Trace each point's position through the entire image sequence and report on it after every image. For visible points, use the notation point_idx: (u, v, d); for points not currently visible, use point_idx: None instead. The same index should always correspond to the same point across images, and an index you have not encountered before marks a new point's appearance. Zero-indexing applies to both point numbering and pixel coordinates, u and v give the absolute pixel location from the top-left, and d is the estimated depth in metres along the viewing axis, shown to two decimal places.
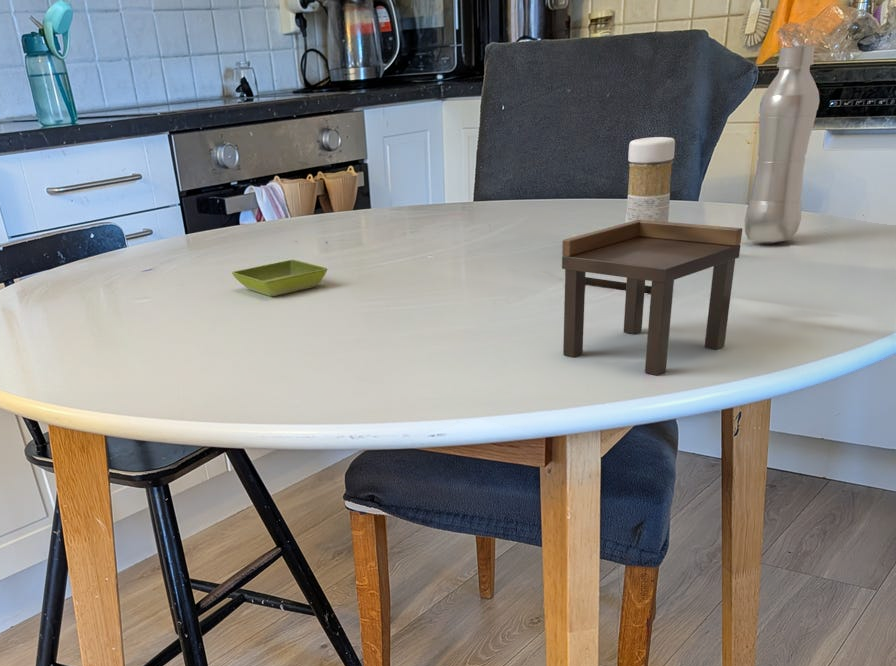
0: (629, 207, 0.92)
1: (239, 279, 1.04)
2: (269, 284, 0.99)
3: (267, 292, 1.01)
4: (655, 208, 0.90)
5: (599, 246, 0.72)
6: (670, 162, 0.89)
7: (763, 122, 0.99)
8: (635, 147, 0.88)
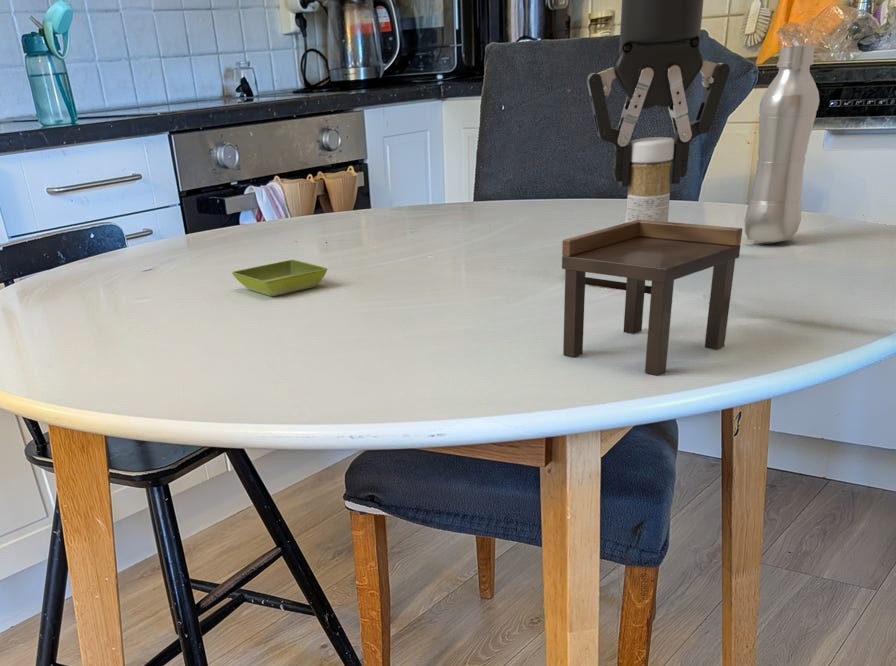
0: (629, 207, 0.92)
1: (239, 279, 1.04)
2: (269, 284, 0.99)
3: (267, 292, 1.01)
4: (655, 208, 0.90)
5: (599, 246, 0.72)
6: (670, 162, 0.89)
7: (763, 122, 0.99)
8: (635, 147, 0.88)
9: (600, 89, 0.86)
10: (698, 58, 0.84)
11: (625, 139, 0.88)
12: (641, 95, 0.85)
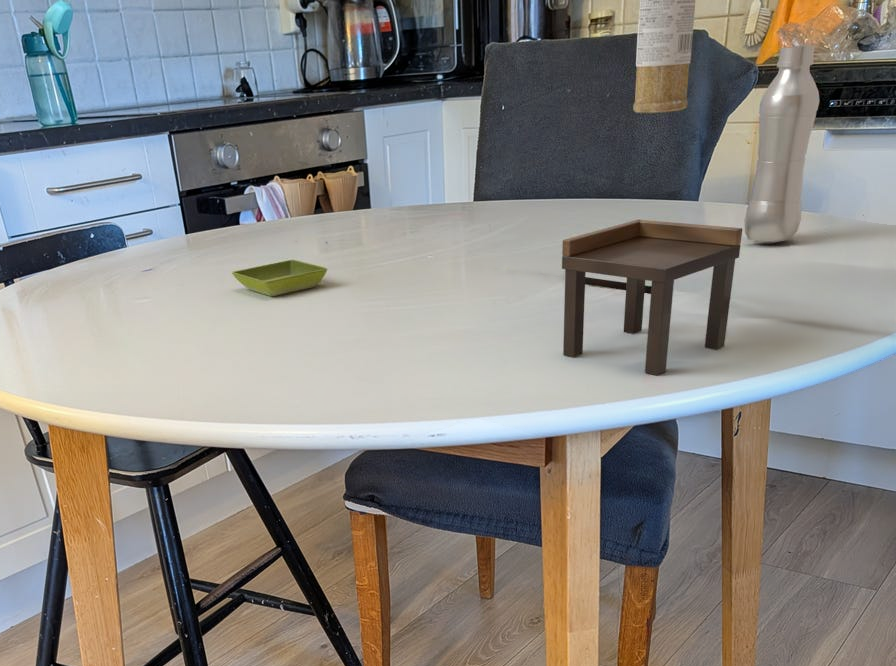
0: (642, 8, 0.70)
1: (239, 279, 1.04)
2: (269, 284, 0.99)
3: (267, 292, 1.01)
4: (677, 5, 0.69)
5: (599, 246, 0.72)
6: None
7: (763, 122, 0.99)
8: None
9: None
10: None
11: None
12: None
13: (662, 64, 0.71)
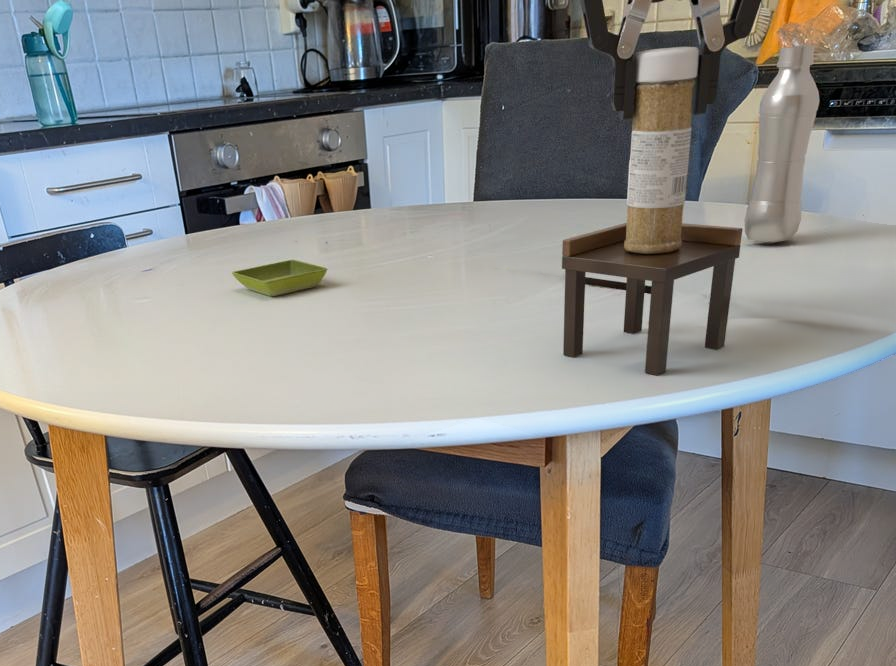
0: (633, 149, 0.65)
1: (239, 279, 1.04)
2: (269, 284, 0.99)
3: (267, 292, 1.01)
4: (671, 149, 0.64)
5: (599, 246, 0.72)
6: (692, 82, 0.62)
7: (763, 122, 0.99)
8: (643, 59, 0.62)
9: None
10: None
11: (628, 48, 0.61)
12: None
13: (655, 207, 0.66)
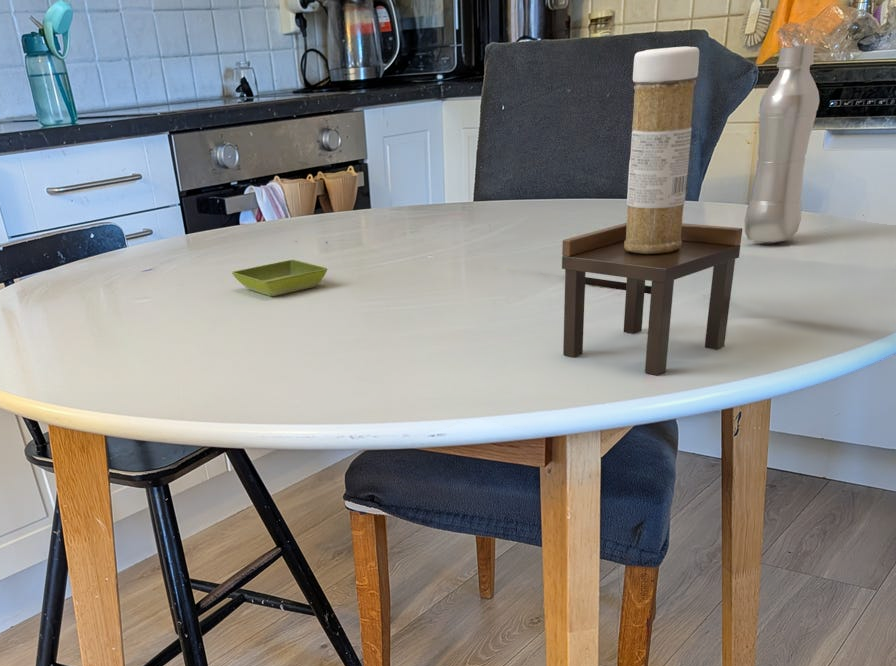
0: (634, 149, 0.65)
1: (239, 279, 1.04)
2: (269, 284, 0.99)
3: (267, 292, 1.01)
4: (671, 149, 0.64)
5: (599, 246, 0.72)
6: (692, 82, 0.62)
7: (763, 122, 0.99)
8: (643, 59, 0.62)
9: None
10: None
11: None
12: None
13: (655, 207, 0.66)
